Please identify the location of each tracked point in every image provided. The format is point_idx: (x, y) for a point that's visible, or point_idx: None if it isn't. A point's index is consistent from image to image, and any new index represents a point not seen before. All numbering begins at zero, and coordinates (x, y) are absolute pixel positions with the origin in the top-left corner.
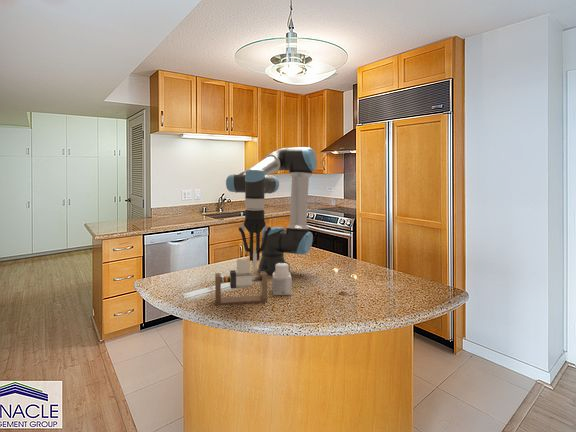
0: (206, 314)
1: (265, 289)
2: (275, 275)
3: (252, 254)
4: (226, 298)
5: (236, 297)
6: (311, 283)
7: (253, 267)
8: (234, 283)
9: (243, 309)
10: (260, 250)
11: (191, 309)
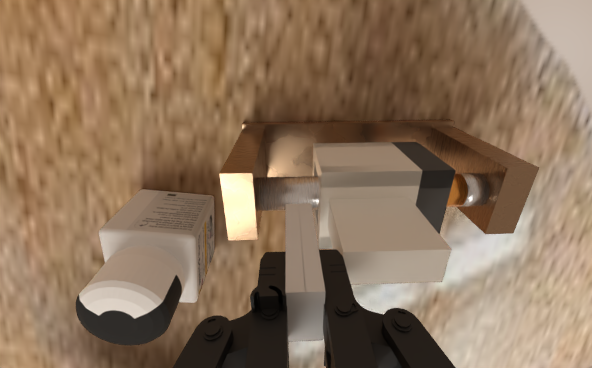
0: (510, 17)
1: (243, 143)
2: (181, 258)
3: (327, 290)
4: None
5: None
6: (63, 291)
7: (309, 210)
8: (408, 149)
9: (350, 51)
10: (242, 328)
11: (548, 88)
